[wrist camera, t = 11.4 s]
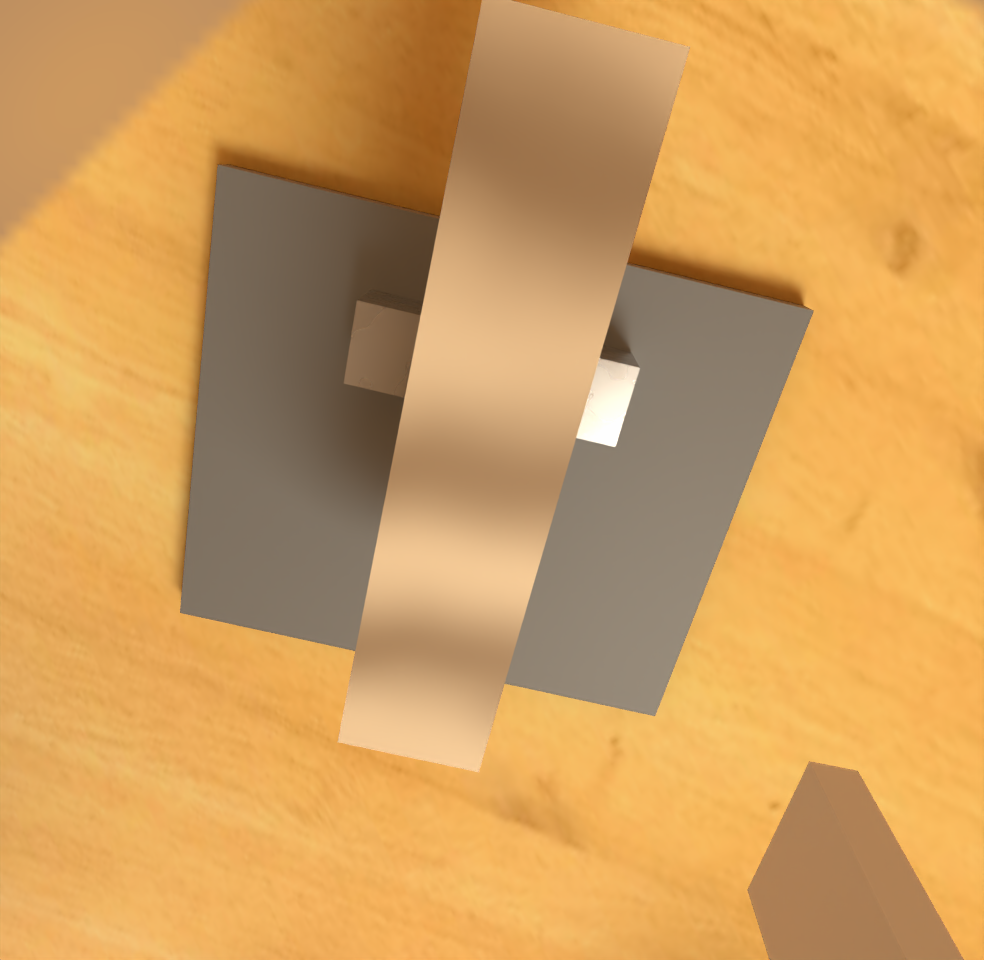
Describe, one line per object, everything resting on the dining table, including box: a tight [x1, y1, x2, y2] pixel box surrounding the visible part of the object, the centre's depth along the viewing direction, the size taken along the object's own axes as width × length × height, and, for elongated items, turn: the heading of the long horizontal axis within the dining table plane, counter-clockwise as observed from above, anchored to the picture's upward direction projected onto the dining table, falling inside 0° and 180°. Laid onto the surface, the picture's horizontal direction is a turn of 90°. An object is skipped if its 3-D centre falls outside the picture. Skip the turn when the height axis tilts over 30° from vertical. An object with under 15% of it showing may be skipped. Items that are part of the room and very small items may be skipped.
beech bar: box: [338, 0, 690, 772], centre depth 22 cm, size 20×4×5 cm, turn 167°
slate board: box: [180, 164, 813, 716], centre depth 32 cm, size 22×19×1 cm
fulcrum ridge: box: [344, 289, 640, 447], centre depth 27 cm, size 10×3×6 cm, turn 77°
